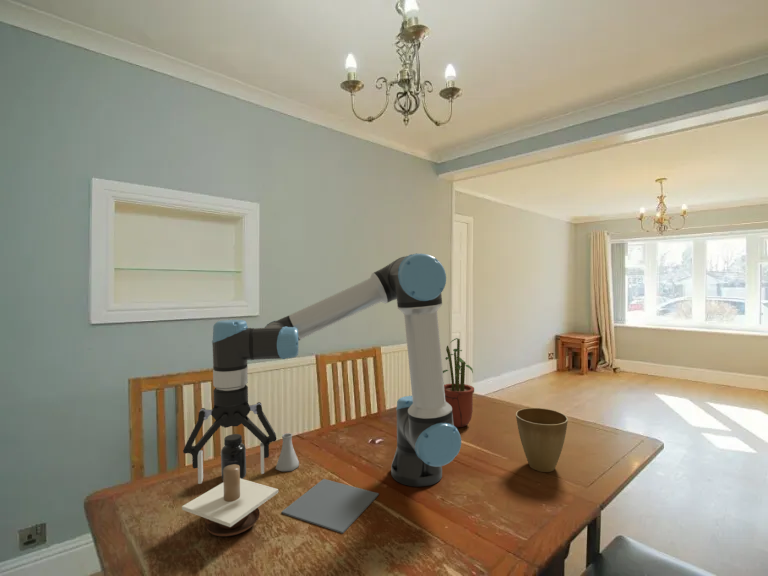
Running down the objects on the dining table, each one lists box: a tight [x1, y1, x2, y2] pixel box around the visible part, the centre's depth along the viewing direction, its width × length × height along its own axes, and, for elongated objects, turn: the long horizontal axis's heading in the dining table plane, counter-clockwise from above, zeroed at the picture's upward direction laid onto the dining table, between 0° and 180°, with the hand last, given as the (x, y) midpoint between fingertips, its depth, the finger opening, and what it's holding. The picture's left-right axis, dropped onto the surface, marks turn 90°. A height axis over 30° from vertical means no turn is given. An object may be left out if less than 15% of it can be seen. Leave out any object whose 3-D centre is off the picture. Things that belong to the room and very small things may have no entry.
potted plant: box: [443, 337, 475, 428], centre depth 158 cm, size 17×16×35 cm
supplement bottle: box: [220, 433, 247, 482], centre depth 115 cm, size 7×7×12 cm
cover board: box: [181, 464, 279, 527], centre depth 92 cm, size 15×15×8 cm
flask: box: [275, 432, 300, 472], centre depth 122 cm, size 7×7×10 cm
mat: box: [281, 478, 380, 534], centre depth 101 cm, size 18×18×1 cm
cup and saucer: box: [204, 507, 260, 537], centre depth 93 cm, size 12×12×6 cm
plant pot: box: [515, 407, 569, 473], centre depth 121 cm, size 15×15×16 cm
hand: (232, 476), depth 92 cm, fingers open, 13 cm apart
